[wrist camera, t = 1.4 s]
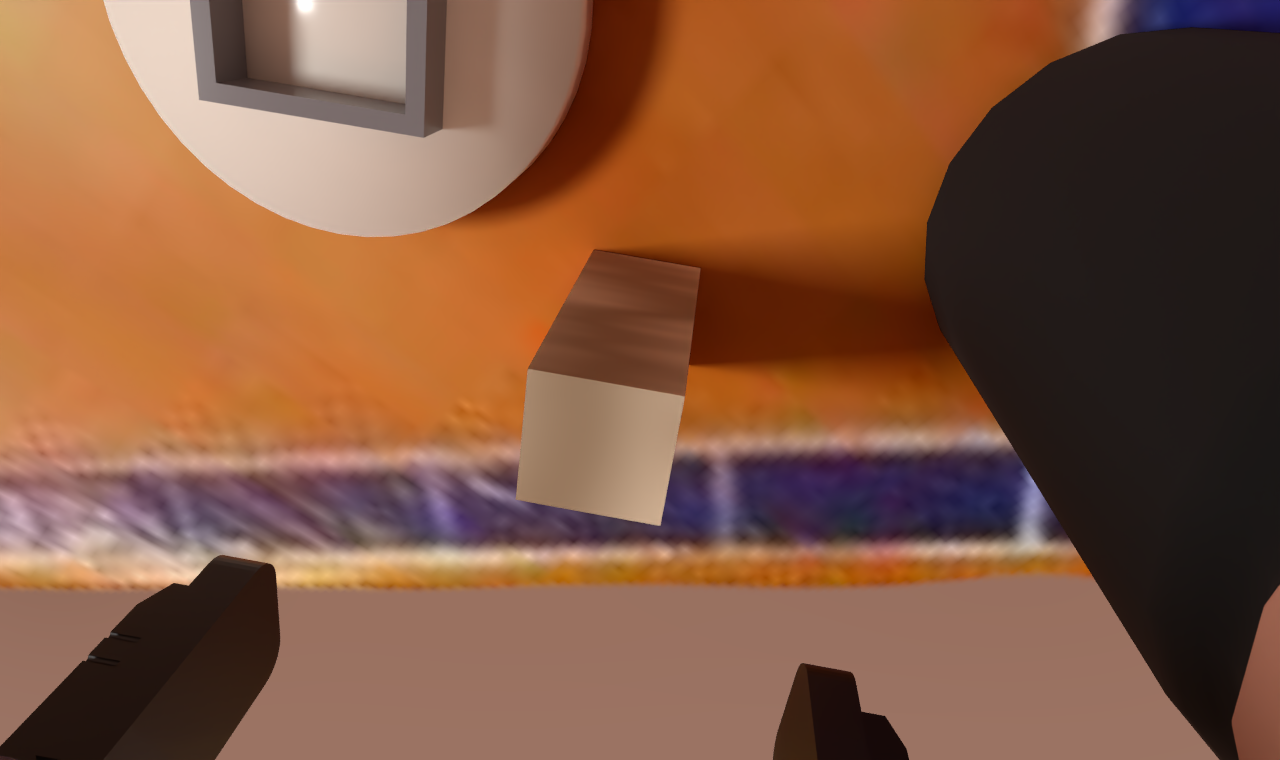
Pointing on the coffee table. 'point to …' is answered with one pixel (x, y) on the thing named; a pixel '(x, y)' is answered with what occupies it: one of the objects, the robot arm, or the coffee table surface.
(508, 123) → the candle dish
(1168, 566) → the coffee jar
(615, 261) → the wood grain block
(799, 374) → the coffee table surface
